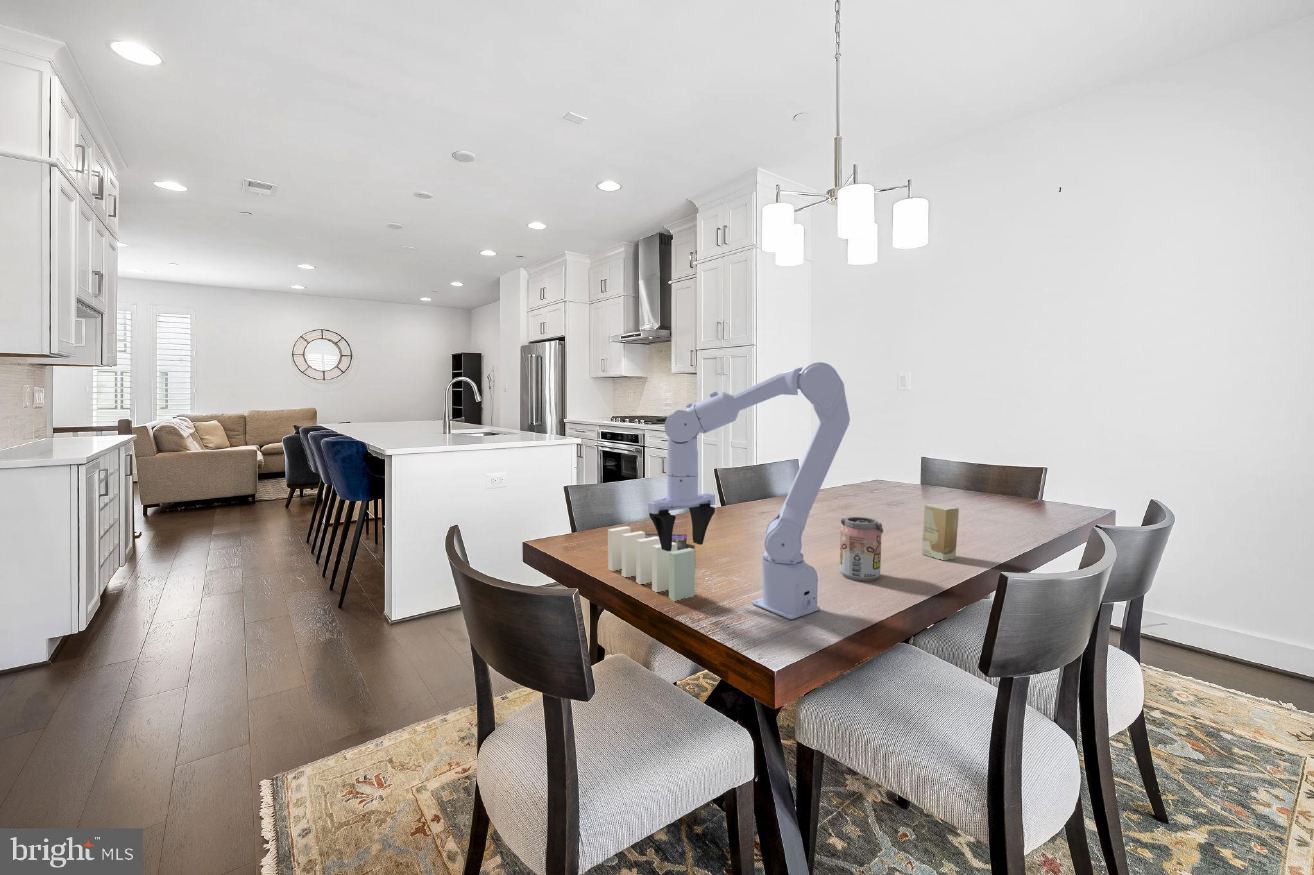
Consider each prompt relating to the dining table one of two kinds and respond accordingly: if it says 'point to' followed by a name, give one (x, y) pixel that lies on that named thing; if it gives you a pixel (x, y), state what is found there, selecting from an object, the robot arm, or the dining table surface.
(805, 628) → the dining table surface
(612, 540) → the domino
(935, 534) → the skincare box
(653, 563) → the domino
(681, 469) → the robot arm
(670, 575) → the sage domino
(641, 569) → the domino
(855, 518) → the paint can
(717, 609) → the dining table surface
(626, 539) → the domino
